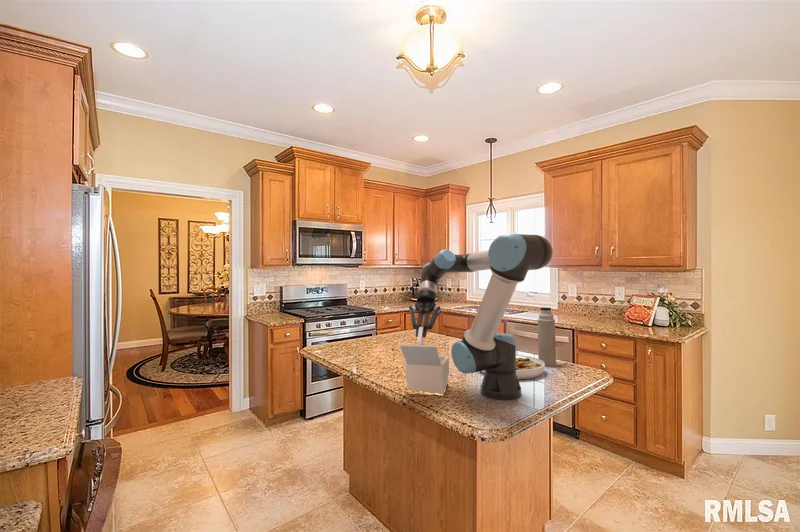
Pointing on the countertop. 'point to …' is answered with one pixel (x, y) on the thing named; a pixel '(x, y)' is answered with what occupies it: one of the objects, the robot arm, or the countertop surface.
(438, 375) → the white carton
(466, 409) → the countertop surface
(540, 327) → the thermos bottle
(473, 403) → the countertop surface
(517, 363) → the bowl
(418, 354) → the carton flap
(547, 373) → the countertop surface
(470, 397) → the countertop surface
